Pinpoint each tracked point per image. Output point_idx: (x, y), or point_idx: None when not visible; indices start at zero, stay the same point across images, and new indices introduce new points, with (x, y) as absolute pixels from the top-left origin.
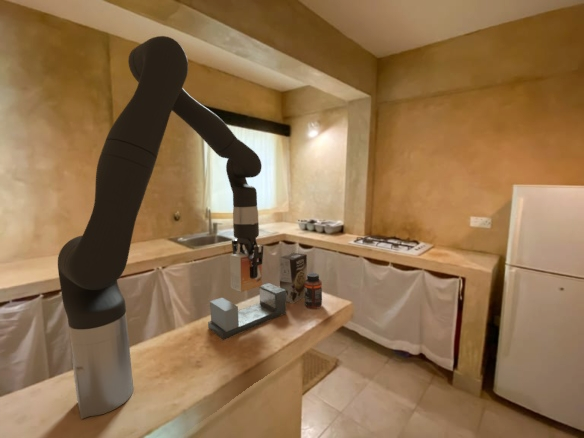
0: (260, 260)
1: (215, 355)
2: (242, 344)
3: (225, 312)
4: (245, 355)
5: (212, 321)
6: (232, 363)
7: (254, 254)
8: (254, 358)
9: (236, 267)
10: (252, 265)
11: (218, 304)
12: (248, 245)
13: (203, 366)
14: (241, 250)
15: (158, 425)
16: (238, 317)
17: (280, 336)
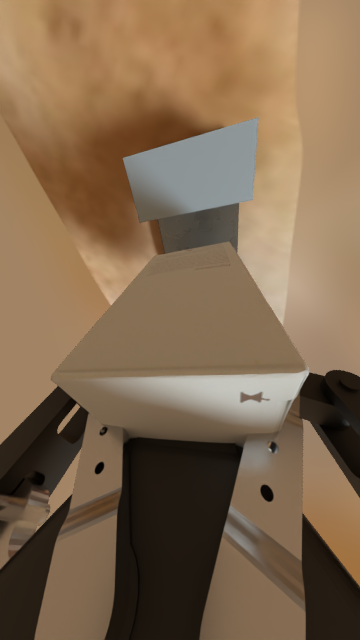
0: (80, 415)
1: (92, 109)
2: (117, 204)
3: (125, 160)
4: (77, 191)
5: None
6: (54, 147)
7: (11, 455)
8: (64, 205)
9: (156, 297)
10: None
11: (196, 152)
12: (24, 623)
13: (51, 44)
14: (233, 487)
15: None
16: (202, 239)
17: (117, 282)
